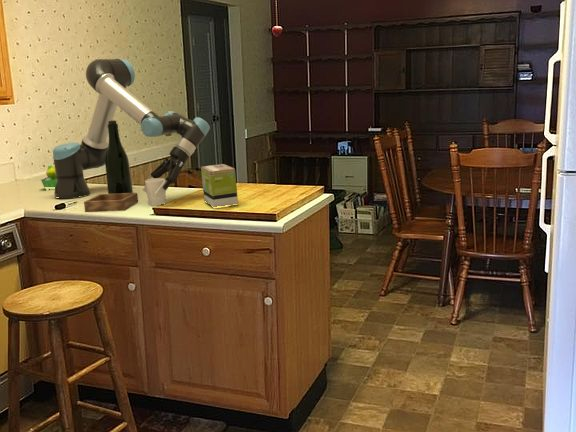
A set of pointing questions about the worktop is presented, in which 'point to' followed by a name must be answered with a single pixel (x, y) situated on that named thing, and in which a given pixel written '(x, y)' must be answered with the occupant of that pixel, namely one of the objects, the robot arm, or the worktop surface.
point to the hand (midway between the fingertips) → (151, 193)
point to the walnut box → (111, 202)
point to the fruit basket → (50, 177)
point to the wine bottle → (117, 163)
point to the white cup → (154, 191)
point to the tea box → (219, 185)
